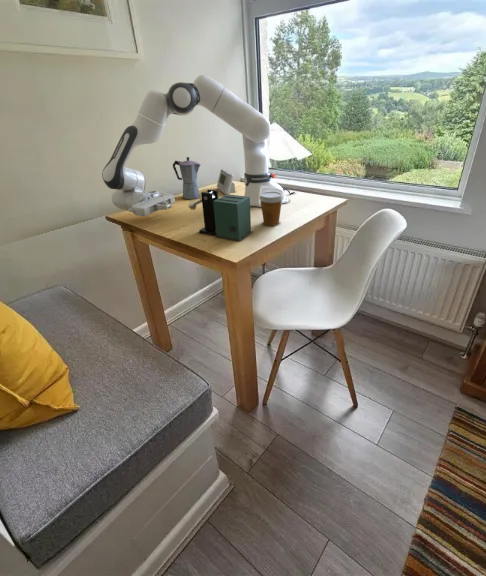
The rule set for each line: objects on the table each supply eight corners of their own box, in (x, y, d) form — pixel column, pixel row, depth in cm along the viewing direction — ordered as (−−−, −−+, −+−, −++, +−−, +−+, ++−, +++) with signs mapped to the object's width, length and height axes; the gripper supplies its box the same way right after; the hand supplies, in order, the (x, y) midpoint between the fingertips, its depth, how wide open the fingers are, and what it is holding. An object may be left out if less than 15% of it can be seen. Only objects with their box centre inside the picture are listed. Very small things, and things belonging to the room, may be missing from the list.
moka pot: (201, 200, 165) (196, 159, 155) (173, 199, 168) (166, 158, 157) (207, 195, 173) (203, 155, 162) (180, 194, 176) (174, 155, 165)
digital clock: (216, 188, 185) (215, 168, 179) (232, 186, 186) (231, 167, 181) (219, 195, 171) (217, 175, 166) (236, 194, 173) (235, 173, 167)
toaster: (214, 237, 123) (211, 201, 116) (228, 228, 131) (226, 193, 123) (238, 242, 119) (235, 204, 112) (251, 232, 127) (249, 196, 120)
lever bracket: (199, 233, 128) (194, 192, 119) (210, 226, 134) (206, 187, 125) (216, 236, 125) (212, 195, 116) (227, 229, 131) (224, 189, 122)
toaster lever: (189, 212, 128) (184, 204, 127) (194, 209, 130) (190, 202, 130) (212, 200, 120) (207, 191, 119) (217, 197, 123) (212, 189, 122)
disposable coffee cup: (287, 222, 135) (288, 194, 128) (271, 229, 129) (271, 199, 123) (270, 217, 141) (270, 189, 134) (255, 223, 135) (254, 194, 129)
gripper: (123, 202, 130) (150, 206, 124) (158, 189, 145) (183, 193, 139) (127, 217, 133) (153, 222, 127) (160, 203, 148) (185, 207, 143)
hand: (169, 206), depth 134 cm, fingers closed
